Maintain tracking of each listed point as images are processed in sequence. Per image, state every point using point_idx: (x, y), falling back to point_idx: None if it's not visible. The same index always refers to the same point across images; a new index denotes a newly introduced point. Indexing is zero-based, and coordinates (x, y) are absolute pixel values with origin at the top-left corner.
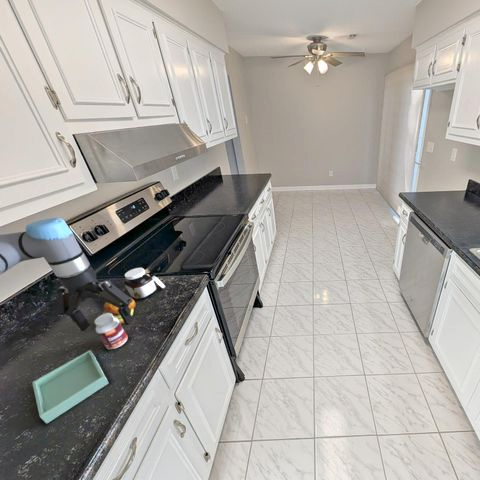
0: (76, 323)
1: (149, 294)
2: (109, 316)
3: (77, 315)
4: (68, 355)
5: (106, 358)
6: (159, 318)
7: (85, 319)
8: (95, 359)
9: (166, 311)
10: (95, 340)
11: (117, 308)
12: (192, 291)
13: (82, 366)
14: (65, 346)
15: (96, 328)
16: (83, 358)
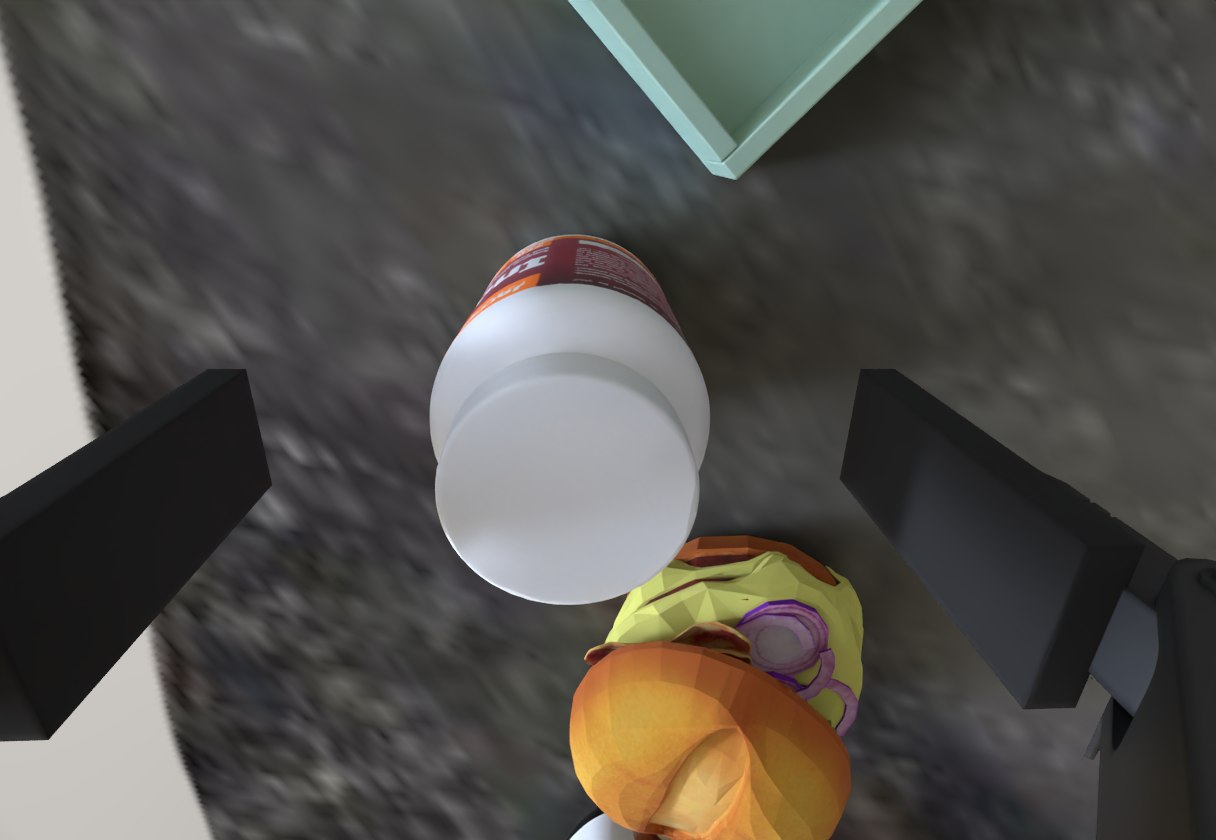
0: (988, 436)
1: (573, 835)
2: (477, 524)
3: (1020, 570)
4: (994, 244)
5: (568, 120)
6: (333, 568)
7: (896, 531)
8: (588, 4)
9: (321, 639)
10: (819, 394)
11: (668, 707)
12: (229, 822)
13: (759, 22)
14: (1072, 368)
15: (665, 359)
16: (779, 99)
